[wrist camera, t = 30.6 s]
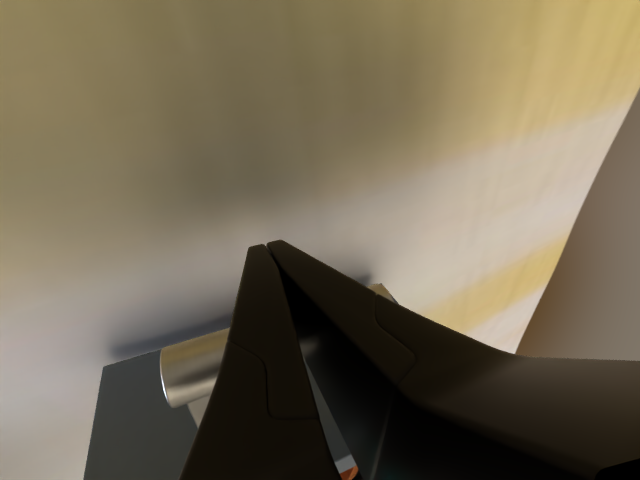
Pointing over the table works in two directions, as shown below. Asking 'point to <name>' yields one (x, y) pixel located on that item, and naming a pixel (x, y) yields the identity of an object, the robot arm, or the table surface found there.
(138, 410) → the drawer
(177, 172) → the table surface
